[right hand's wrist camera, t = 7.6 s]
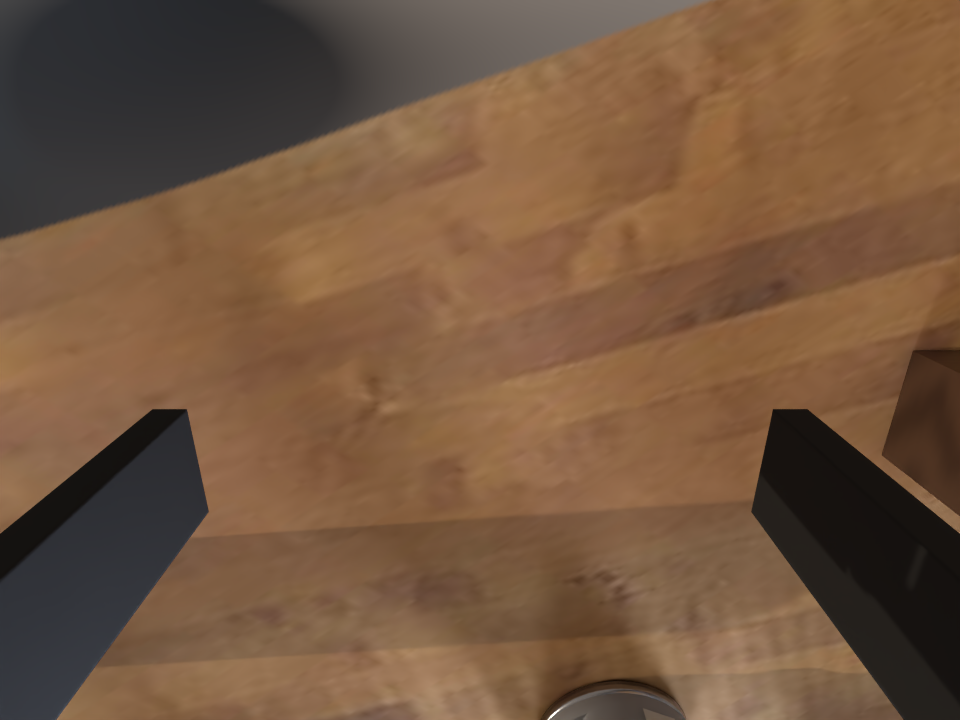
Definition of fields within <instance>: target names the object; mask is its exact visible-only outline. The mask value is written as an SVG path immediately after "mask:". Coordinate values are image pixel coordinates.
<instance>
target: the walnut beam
mask: <svg viewBox="0 0 960 720" xmlns="http://www.w3.org/2000/svg"><path fill="white" fill-rule="evenodd" d="M882 456H883V457H885V458H886V459H887V460H889V461H890V462H891V463H892V464H894V465H895V466H896V467H898V468H899V469H900V470H901V471H903V472H904V473H905V474H907V475H908V476H909V477H910V478H912V479H913V480H914V481H915V482H917V483H918V484H919V485H921V486H922V487H923V488H924V489H926V490H927V491H928V492H930V493H931V494H932V495H933V496H935V497H936V498H937V499H939V500H940V501H941V502H942V503H944V504H945V505H946V506H947V507H949V508H950V509H951V510H953V511H954V512H955V513H956V514H958V515H959V516H960V351H913V354H912V357H911V360H910V364H909V367H908V370H907V374H906V377H905V380H904V383H903V387H902V390H901V393H900V397H899V400H898V403H897V407H896V410H895V413H894V417H893V420H892V423H891V427H890V430H889V433H888V437H887V440H886V443H885V446H884V450H883V453H882Z"/></svg>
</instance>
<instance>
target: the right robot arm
mask: <svg viewBox="0 0 960 720" xmlns="http://www.w3.org/2000/svg"><path fill="white" fill-rule="evenodd" d="M208 512H209V511H208V506H207V502H206V497H205V492H204V488H203V483H202V478H201V474H200V469H199V464H198V459H197V455H196V450H195V445H194V441H193V436H192V431H191V427H190V422H189V417H188V412H187V409H152V410H151V411H150V412H149V413H148V414H146V415H145V416H144V417H143V418H141V419H140V420H139V421H138V422H137V423H135V424H134V425H133V426H132V427H130V428H129V429H128V430H127V431H125V432H124V433H123V434H122V435H121V436H119V437H118V438H117V439H116V440H114V441H113V442H112V443H111V444H110V445H108V446H107V447H106V448H105V449H103V450H102V451H101V452H100V453H99V454H97V455H96V456H95V457H94V458H92V459H91V460H90V461H89V462H88V463H86V464H85V465H84V466H83V467H81V468H80V469H79V470H78V471H77V472H75V473H74V474H73V475H72V476H70V477H69V478H68V479H67V480H66V481H64V482H63V483H62V484H61V485H59V486H58V487H57V488H56V489H54V490H53V491H52V492H51V493H50V494H48V495H47V496H46V497H45V498H43V499H42V500H41V501H40V502H39V503H37V504H36V505H35V506H34V507H32V508H31V509H30V510H29V511H28V512H26V513H25V514H24V515H23V516H21V517H20V518H19V519H18V520H17V521H15V522H14V523H13V524H12V525H10V526H9V527H8V528H7V529H6V530H4V531H3V532H2V533H1V534H0V720H56V719H57V718H58V717H59V715H60V714H61V712H62V711H63V710H64V708H65V707H66V706H67V704H68V703H69V702H70V700H71V699H72V697H73V696H74V695H75V693H76V692H77V691H78V689H79V688H80V687H81V685H82V684H83V682H84V681H85V680H86V678H87V677H88V676H89V674H90V673H91V672H92V670H93V669H94V667H95V666H96V665H97V663H98V662H99V661H100V659H101V658H102V657H103V655H104V654H105V652H106V651H107V650H108V648H109V647H110V646H111V644H112V643H113V642H114V640H115V639H116V637H117V636H118V635H119V633H120V632H121V631H122V629H123V628H124V627H125V625H126V624H127V622H128V621H129V620H130V618H131V617H132V616H133V614H134V613H135V612H136V610H137V609H138V607H139V606H140V605H141V603H142V602H143V601H144V599H145V598H146V597H147V595H148V594H149V592H150V591H151V590H152V588H153V587H154V586H155V584H156V583H157V582H158V580H159V579H160V577H161V576H162V575H163V573H164V572H165V571H166V569H167V568H168V567H169V565H170V564H171V562H172V561H173V560H174V558H175V557H176V556H177V554H178V553H179V552H180V550H181V549H182V547H183V546H184V545H185V543H186V542H187V541H188V539H189V538H190V537H191V535H192V534H193V532H194V531H195V530H196V528H197V527H198V526H199V524H200V523H201V522H202V520H203V519H204V517H205V516H206V515H207V513H208ZM751 512H752V513H753V515H754V516H755V518H756V519H757V520H758V522H759V523H760V524H761V526H762V527H763V528H764V530H765V531H766V532H767V534H768V535H769V537H770V538H771V539H772V541H773V542H774V543H775V545H776V546H777V547H778V549H779V550H780V552H781V553H782V554H783V556H784V557H785V558H786V560H787V561H788V562H789V564H790V565H791V567H792V568H793V569H794V571H795V572H796V573H797V575H798V576H799V577H800V579H801V580H802V582H803V583H804V584H805V586H806V587H807V588H808V590H809V591H810V592H811V594H812V595H813V597H814V598H815V599H816V601H817V602H818V603H819V605H820V606H821V607H822V609H823V610H824V612H825V613H826V614H827V616H828V617H829V618H830V620H831V621H832V622H833V624H834V625H835V627H836V628H837V629H838V631H839V632H840V633H841V635H842V636H843V637H844V639H845V640H846V642H847V643H848V644H849V646H850V647H851V648H852V650H853V651H854V652H855V654H856V655H857V657H858V658H859V659H860V661H861V662H862V663H863V665H864V666H865V667H866V669H867V670H868V672H869V673H870V674H871V676H872V677H873V678H874V680H875V681H876V682H877V684H878V685H879V687H880V688H881V689H882V691H883V692H884V693H885V695H886V696H887V697H888V699H889V700H890V702H891V703H892V704H893V706H894V707H895V708H896V710H897V711H898V712H899V714H900V715H901V717H902V718H903V719H904V720H960V533H958V532H957V531H956V530H954V529H953V528H952V527H951V526H950V525H948V524H947V523H946V522H945V521H943V520H942V519H941V518H940V517H939V516H937V515H936V514H935V513H934V512H932V511H931V510H930V509H929V508H928V507H926V506H925V505H924V504H923V503H921V502H920V501H919V500H918V499H917V498H915V497H914V496H913V495H912V494H910V493H909V492H908V491H907V490H906V489H904V488H903V487H902V486H901V485H899V484H898V483H897V482H896V481H894V480H893V479H892V478H891V477H890V476H888V475H887V474H886V473H885V472H883V471H882V470H881V469H880V468H879V467H877V466H876V465H875V464H874V463H872V462H871V461H870V460H869V459H868V458H866V457H865V456H864V455H863V454H861V453H860V452H859V451H858V450H857V449H855V448H854V447H853V446H852V445H850V444H849V443H848V442H847V441H846V440H844V439H843V438H842V437H841V436H839V435H838V434H837V433H836V432H835V431H833V430H832V429H831V428H830V427H828V426H827V425H826V424H825V423H823V422H822V421H821V420H820V419H819V418H817V417H816V416H815V415H814V414H812V413H811V412H810V411H809V410H808V409H773V412H772V417H771V422H770V427H769V431H768V436H767V441H766V445H765V450H764V455H763V459H762V464H761V469H760V474H759V478H758V483H757V488H756V492H755V497H754V502H753V506H752V511H751ZM541 720H686V717H685V714H684V712H683V710H682V709H681V707H680V706H679V705H678V704H677V702H676V701H675V700H674V699H672V698H671V697H670V696H669V695H667V694H666V693H664V692H662V691H660V690H658V689H656V688H654V687H651V686H648V685H644V684H641V683H635V682H627V681H610V682H601V683H596V684H591V685H587V686H584V687H581V688H579V689H576V690H574V691H572V692H570V693H568V694H566V695H565V696H563V697H561V698H560V699H559V700H557V701H556V702H555V703H554V704H553V705H551V706H550V708H549V709H548V710H547V711H546V712H545V714H544V715H543V717H542V718H541Z"/></svg>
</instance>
